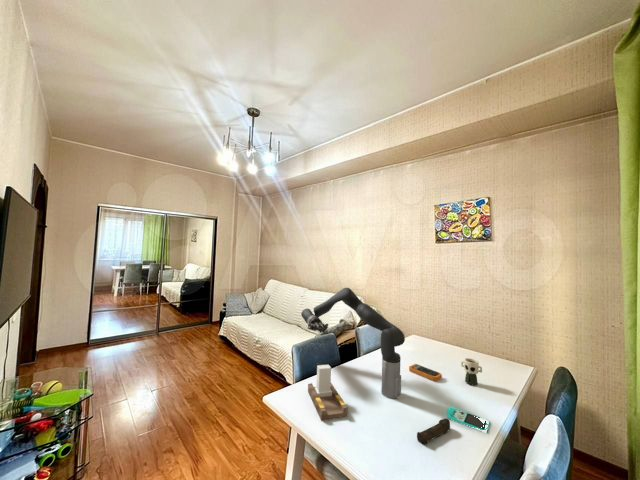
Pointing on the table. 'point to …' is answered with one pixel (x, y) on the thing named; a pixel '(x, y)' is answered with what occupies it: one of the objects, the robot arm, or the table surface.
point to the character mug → (471, 370)
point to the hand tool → (433, 431)
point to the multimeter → (425, 372)
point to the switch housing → (328, 404)
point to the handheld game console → (465, 418)
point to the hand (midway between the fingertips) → (322, 330)
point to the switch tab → (323, 381)
